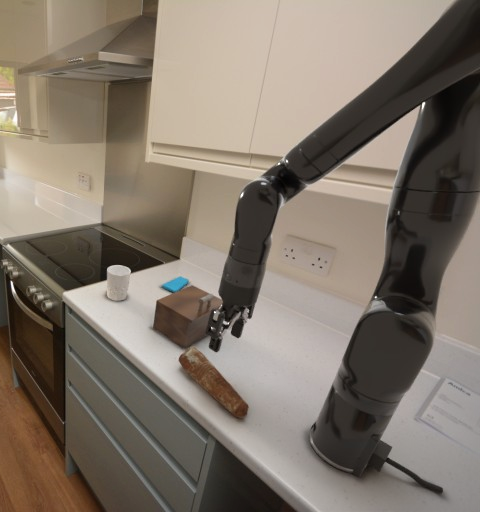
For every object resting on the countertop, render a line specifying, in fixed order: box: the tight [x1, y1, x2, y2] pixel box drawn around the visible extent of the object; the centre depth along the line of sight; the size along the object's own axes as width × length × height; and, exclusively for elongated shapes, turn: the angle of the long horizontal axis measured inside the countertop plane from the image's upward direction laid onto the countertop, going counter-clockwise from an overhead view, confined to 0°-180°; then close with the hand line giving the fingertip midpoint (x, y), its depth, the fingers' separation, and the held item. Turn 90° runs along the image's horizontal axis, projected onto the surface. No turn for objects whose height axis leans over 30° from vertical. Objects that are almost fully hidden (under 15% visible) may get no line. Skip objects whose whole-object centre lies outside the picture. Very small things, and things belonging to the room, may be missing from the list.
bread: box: [178, 345, 250, 419], centre depth 78 cm, size 6×19×6 cm, turn 24°
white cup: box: [106, 264, 132, 302], centre depth 115 cm, size 8×8×10 cm
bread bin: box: [152, 302, 219, 350], centre depth 100 cm, size 12×17×9 cm
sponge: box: [161, 276, 190, 293], centre depth 126 cm, size 2×12×6 cm
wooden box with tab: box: [155, 284, 223, 323], centre depth 97 cm, size 12×17×4 cm
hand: (224, 342), depth 75 cm, fingers open, 8 cm apart
